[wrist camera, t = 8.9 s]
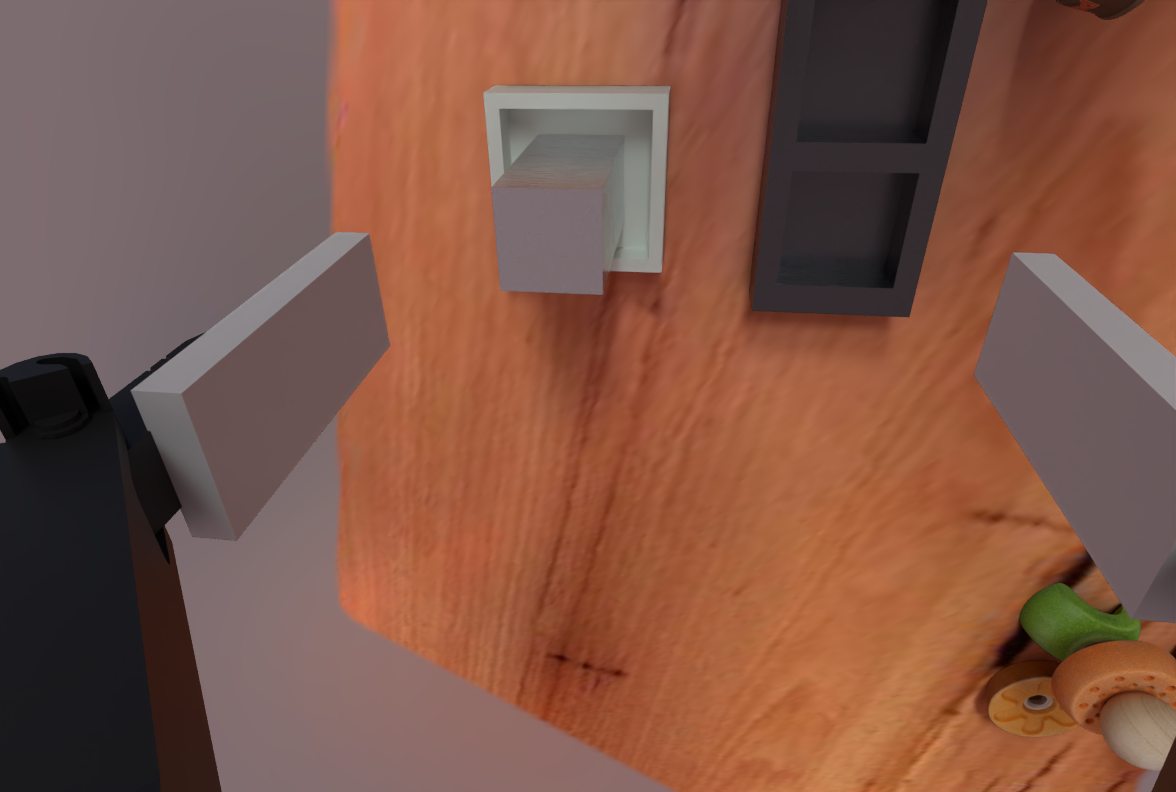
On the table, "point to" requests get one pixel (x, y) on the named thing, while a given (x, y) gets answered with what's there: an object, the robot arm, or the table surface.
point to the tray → (596, 112)
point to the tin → (1103, 7)
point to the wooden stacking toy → (1089, 680)
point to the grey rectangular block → (560, 214)
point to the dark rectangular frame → (857, 150)
